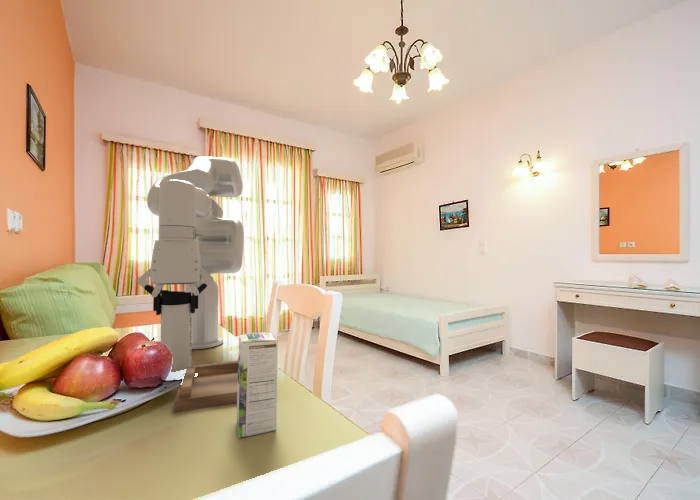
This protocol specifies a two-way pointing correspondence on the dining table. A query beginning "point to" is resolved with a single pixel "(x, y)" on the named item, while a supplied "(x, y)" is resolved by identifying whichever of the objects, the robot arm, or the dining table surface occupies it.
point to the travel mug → (177, 327)
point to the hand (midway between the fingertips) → (176, 312)
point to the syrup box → (257, 384)
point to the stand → (208, 386)
